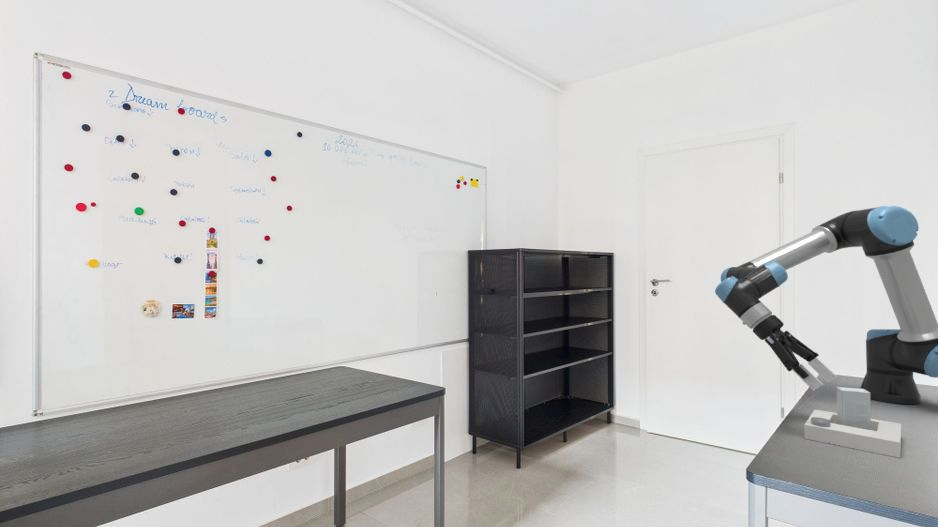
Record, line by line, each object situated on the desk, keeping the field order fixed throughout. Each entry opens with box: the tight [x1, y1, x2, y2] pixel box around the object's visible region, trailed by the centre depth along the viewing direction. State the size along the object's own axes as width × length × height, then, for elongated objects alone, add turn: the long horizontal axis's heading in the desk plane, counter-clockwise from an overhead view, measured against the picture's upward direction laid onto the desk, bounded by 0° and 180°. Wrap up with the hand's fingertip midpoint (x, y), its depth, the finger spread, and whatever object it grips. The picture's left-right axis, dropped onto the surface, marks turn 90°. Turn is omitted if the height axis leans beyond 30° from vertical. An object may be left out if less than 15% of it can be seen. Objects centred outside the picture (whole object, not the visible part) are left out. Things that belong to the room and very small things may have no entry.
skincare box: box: [836, 386, 872, 430], centre depth 123 cm, size 6×4×12 cm
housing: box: [803, 409, 902, 459], centre depth 121 cm, size 18×18×5 cm
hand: (825, 383), depth 127 cm, fingers open, 13 cm apart
